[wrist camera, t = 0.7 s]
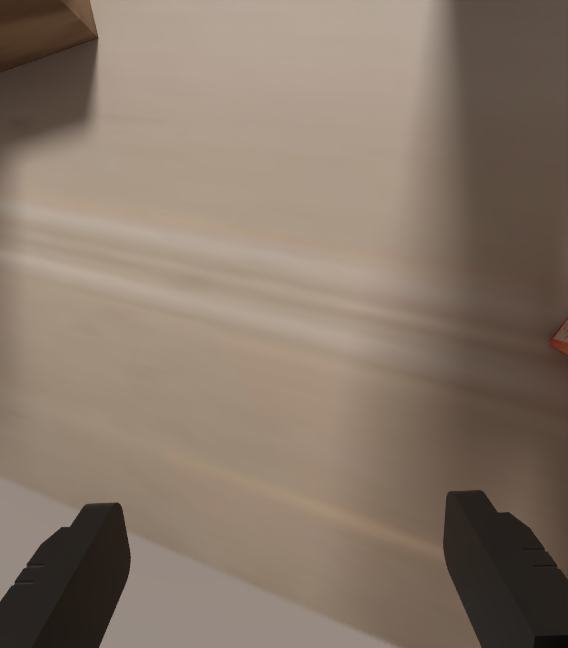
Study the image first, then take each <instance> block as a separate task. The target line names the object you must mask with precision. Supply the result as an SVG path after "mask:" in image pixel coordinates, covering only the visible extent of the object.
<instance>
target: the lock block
mask: <svg viewBox="0 0 568 648" xmlns="http://www.w3.org/2000/svg"><path fill="white" fill-rule="evenodd" d="M95 38H98V35H97V31H96V26H95V22H94V18H93V13H92V9H91V5H90V0H0V72H1V71H4V70H7V69H10V68H13V67H16V66H18V65H21V64H24V63H27V62H30V61H33V60H35V59H38V58H41V57H44V56H47V55H50V54H52V53H55V52H58V51H61V50H64V49H67V48H69V47H72V46H75V45H78V44H81V43H84V42H86V41H89V40H92V39H95Z"/></svg>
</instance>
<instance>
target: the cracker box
mask: <svg viewBox="0 0 568 648" xmlns="http://www.w3.org/2000/svg"><path fill="white" fill-rule="evenodd" d="M549 344H550V345H551V346H553V347H555V348H556V349H558V350H560V351H561V352H563V353H564V354H566V355H568V319H567V320H566V321H565V322H564V324H563V325H562V326H561V328H560V329H559V331H558V332H557V333H556V335H555V336H554V337H553V338H552V339H551V340H550V342H549Z"/></svg>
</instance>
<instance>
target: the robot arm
mask: <svg viewBox="0 0 568 648" xmlns="http://www.w3.org/2000/svg"><path fill="white" fill-rule="evenodd" d="M443 548H444V556H445V561H446V565H447V568H448V571H449V574H450V576H451V578H452V580H453V583H454V585H455V587H456V590H457V592H458V594H459V597H460V599H461V601H462V603H463V606H464V608H465V610H466V613H467V615H468V617H469V619H470V622H471V624H472V626H473V629H474V631H475V633H476V636H477V638H478V640H479V642H480V645H481V647H482V648H568V579H567V578H566V577H565V575H564V574H563V572H562V571H561V570H560V569H558V568H557V564H556V563H555V562H554V560H553V559H552V558H551V556H550V555H549V554H548V552H545V550H544V547H543V545H542V544H541V543H540V541H539V540H538V539H537V537H536V536H535V535H534V533H533V532H532V531H531V529H530V528H529V527H527V526H526V525H525V524H523V523H522V522H521V521H519V520H518V519H517V518H516V517H514V516H513V515H512V514H510V513H509V512H504V513H498V512H497V511H496V509H495V508H494V506H493V505H492V503H491V502H490V501H489V499H488V498H487V496H486V495H485V493H484V492H483V491H481V490H472V491H449V492H448V494H447V497H446V510H445V525H444V539H443ZM130 559H131V556H130V548H129V543H128V537H127V532H126V526H125V521H124V516H123V510H122V507H121V505H120V504H119V503H94V504H86V505H85V506H84V507H83V508H82V510H81V511H80V513H79V514H78V516H77V517H76V519H75V520H74V522H73V523H72V525H71V526H70V527H61V528H60V529H59V530H58V531H57V532H55V533H54V534H53V535H52V536H51V537H50V538H48V539H47V540H46V541H45V542H43V543H42V544H41V545H40V547H39V548H38V550H37V551H36V552H35V554H34V555H33V557H32V558H31V559H30V561H29V562H28V563H27V568H24V569H23V570H22V572H21V573H20V575H19V576H18V577H17V579H16V581H15V584H14V586H11V588H10V589H9V590H8V592H7V593H6V594H5V596H4V597H3V598H2V600H1V601H0V648H99V646H100V643H101V641H102V639H103V636H104V634H105V632H106V629H107V627H108V625H109V622H110V619H111V617H112V615H113V613H114V610H115V608H116V605H117V603H118V601H119V598H120V596H121V594H122V591H123V589H124V586H125V584H126V581H127V578H128V575H129V570H130V561H131V560H130Z"/></svg>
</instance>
